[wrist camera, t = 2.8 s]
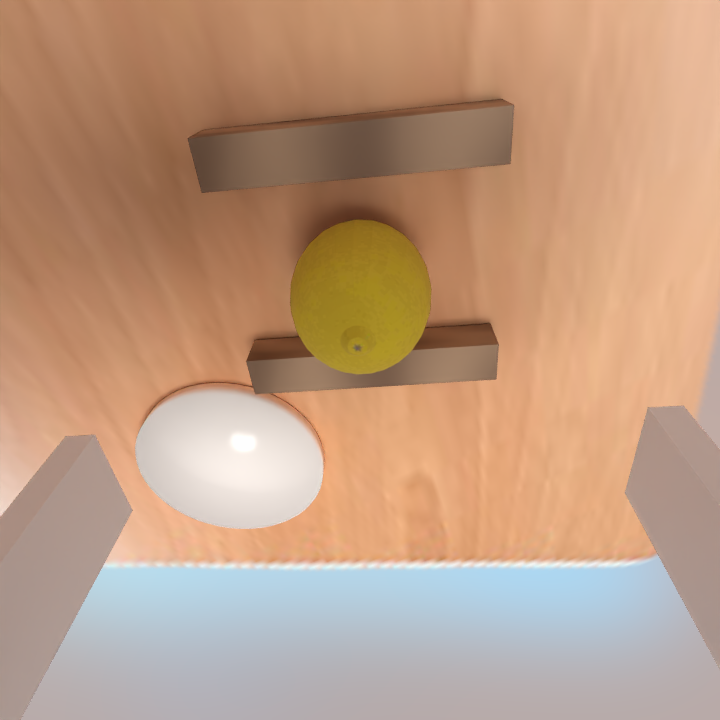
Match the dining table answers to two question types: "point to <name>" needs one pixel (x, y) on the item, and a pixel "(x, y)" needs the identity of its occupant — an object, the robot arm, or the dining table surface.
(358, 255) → the lemon
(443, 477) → the dining table surface
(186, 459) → the saucer
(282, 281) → the dining table surface
